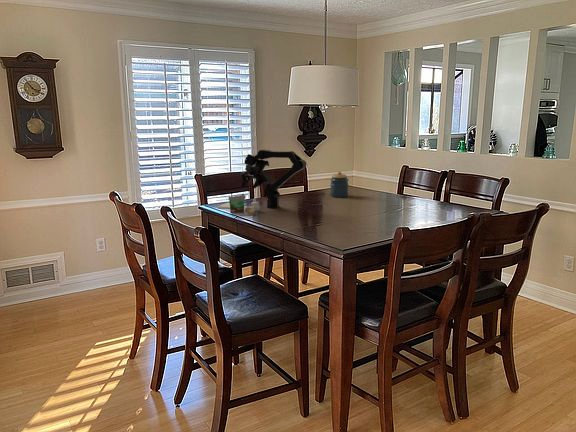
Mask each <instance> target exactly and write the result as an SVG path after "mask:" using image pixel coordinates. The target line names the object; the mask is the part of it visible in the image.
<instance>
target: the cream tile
mask: <svg viewBox="0 0 576 432" xmlns="http://www.w3.org/2000/svg"><path fill="white" fill-rule="evenodd" d="M246 205H247V203H245V202H244V207H246ZM217 209H226V210H227V209H228V210H230V203H229V202H226V203H223V204H221V205H218V206H217Z"/></svg>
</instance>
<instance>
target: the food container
mask: <svg viewBox="0 0 576 432" xmlns="http://www.w3.org/2000/svg"><path fill="white" fill-rule="evenodd" d="M246 198H247V197H246V195H245V193H241V195H234V196H231V195H229V196H228V203H230V209H229V211H230V214H231V213H232V214H234V213H235V214H237V213H238V214H239V213H240V214H241V213H245V206H244V203H245V199H246Z"/></svg>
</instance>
